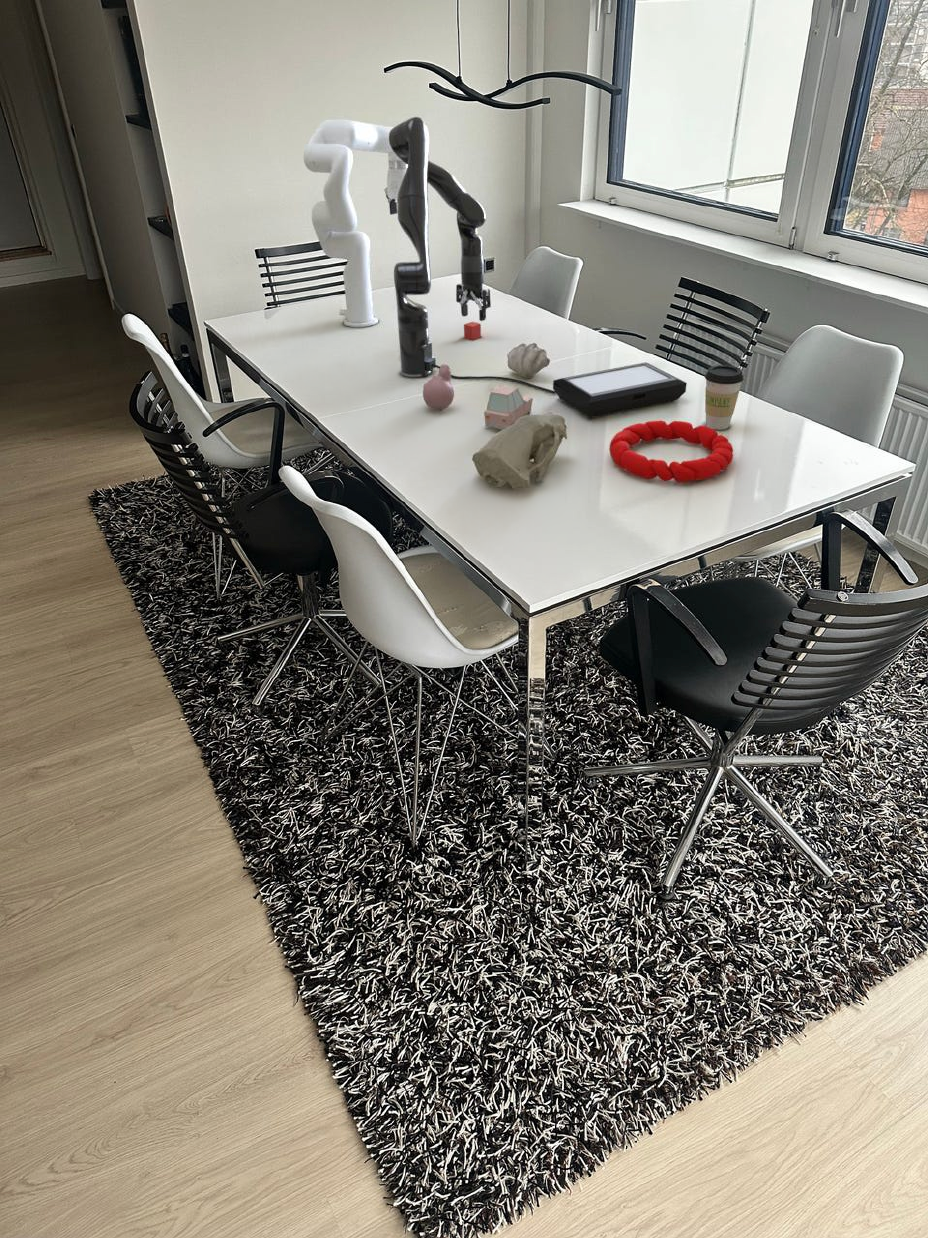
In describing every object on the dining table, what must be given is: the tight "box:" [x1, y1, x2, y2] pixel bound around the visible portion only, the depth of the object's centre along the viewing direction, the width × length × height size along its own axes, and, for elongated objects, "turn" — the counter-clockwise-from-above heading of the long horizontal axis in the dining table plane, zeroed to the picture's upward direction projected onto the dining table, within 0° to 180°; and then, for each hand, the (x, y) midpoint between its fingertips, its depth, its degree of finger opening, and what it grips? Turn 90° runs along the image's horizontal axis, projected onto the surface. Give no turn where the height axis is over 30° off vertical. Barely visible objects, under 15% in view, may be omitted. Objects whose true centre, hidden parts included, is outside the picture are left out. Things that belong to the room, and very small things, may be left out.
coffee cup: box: [704, 364, 745, 431], centre depth 235 cm, size 10×10×15 cm
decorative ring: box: [609, 419, 734, 483], centre depth 221 cm, size 7×30×30 cm
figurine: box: [422, 363, 455, 411], centre depth 252 cm, size 9×11×12 cm
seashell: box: [506, 342, 551, 379], centre depth 273 cm, size 10×15×10 cm
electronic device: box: [552, 362, 688, 419], centre depth 255 cm, size 32×6×20 cm
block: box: [463, 321, 482, 341], centre depth 308 cm, size 4×4×5 cm
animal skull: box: [471, 411, 568, 490], centre depth 215 cm, size 17×25×20 cm
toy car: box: [483, 385, 534, 430], centre depth 242 cm, size 9×15×10 cm, turn 149°
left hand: (402, 215), depth 337 cm, fingers open, 9 cm apart
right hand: (473, 318), depth 305 cm, fingers open, 8 cm apart
